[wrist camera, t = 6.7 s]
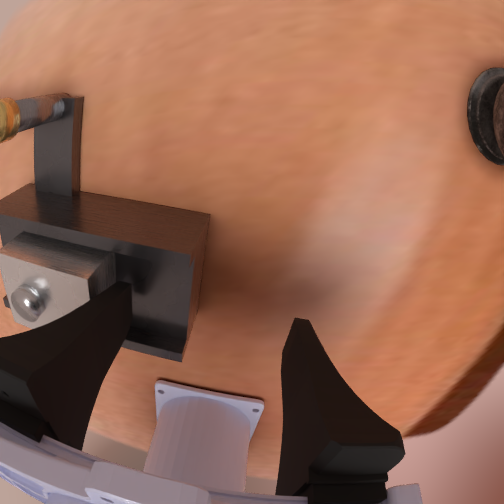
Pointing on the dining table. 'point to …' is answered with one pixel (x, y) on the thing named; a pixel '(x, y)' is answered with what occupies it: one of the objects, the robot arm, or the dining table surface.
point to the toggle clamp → (111, 229)
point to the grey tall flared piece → (488, 114)
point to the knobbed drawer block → (52, 276)
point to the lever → (8, 119)
